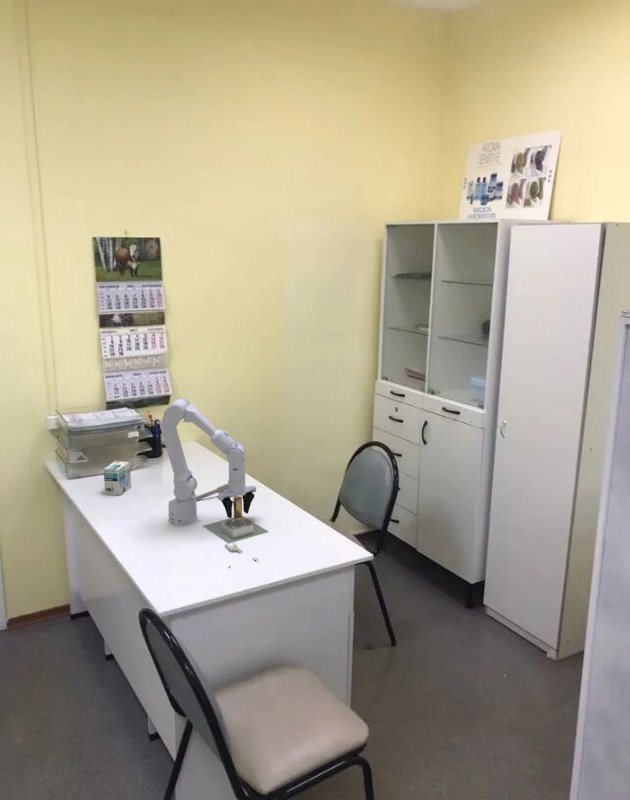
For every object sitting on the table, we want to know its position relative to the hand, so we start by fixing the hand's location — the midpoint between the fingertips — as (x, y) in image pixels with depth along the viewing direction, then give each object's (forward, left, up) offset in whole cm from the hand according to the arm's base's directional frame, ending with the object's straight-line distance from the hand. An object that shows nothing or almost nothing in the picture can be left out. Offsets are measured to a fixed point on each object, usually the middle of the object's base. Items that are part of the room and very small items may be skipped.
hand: (237, 514), depth 242 cm
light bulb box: (-22, +56, -3) cm, 60 cm away
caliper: (+4, +27, -3) cm, 27 cm away
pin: (0, 0, -2) cm, 2 cm away
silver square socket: (-5, -8, -2) cm, 10 cm away
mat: (-4, -5, -3) cm, 7 cm away
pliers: (-14, -23, -3) cm, 27 cm away
